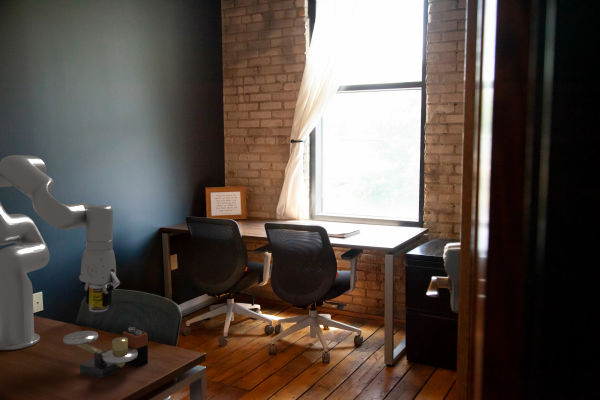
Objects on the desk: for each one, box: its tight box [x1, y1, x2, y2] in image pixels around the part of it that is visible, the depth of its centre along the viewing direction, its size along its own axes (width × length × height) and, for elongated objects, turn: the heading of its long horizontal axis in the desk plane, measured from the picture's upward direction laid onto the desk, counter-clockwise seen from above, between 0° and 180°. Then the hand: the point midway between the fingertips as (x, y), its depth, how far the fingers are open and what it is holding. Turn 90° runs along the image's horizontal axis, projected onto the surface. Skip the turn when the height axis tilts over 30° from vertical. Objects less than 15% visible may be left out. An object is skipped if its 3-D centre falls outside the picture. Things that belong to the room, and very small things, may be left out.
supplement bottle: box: [88, 284, 109, 313], centre depth 146 cm, size 6×6×10 cm
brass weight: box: [111, 336, 128, 357], centre depth 131 cm, size 4×4×4 cm
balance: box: [62, 330, 138, 379], centre depth 134 cm, size 23×9×9 cm, turn 69°
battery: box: [122, 326, 149, 368], centre depth 139 cm, size 4×7×10 cm, turn 52°
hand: (98, 303), depth 147 cm, fingers closed on supplement bottle, 5 cm apart
